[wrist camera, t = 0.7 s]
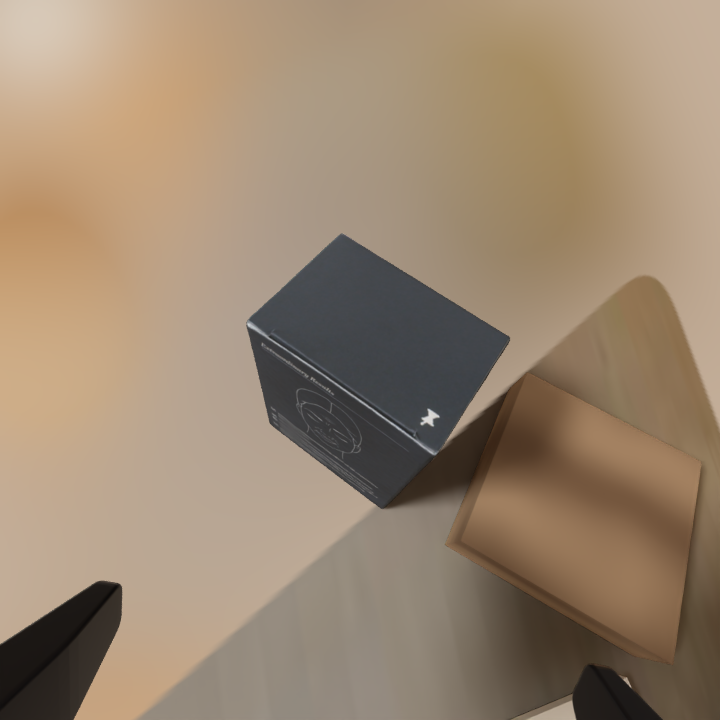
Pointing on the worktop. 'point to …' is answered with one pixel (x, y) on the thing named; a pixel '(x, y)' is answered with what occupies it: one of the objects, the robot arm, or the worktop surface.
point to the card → (555, 709)
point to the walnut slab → (583, 516)
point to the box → (368, 366)
